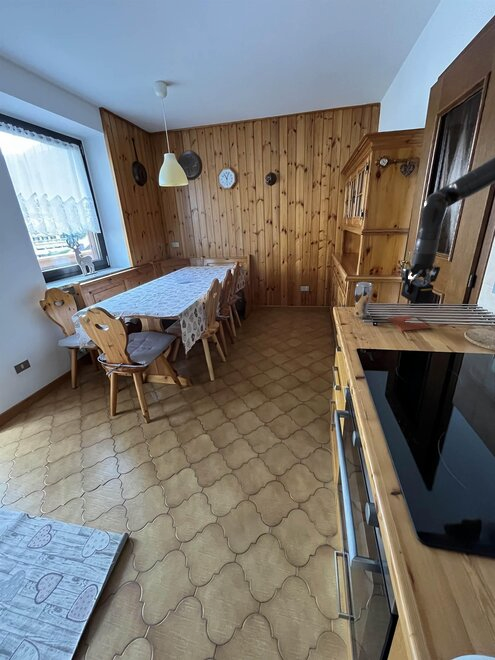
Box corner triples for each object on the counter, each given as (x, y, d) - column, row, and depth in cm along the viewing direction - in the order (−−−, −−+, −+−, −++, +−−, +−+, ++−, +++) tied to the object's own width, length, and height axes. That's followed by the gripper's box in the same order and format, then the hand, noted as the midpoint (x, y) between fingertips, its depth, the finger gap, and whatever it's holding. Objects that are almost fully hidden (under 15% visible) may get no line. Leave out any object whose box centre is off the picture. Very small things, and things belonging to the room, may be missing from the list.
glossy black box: (400, 295, 120) (403, 279, 116) (414, 293, 120) (418, 277, 117) (415, 304, 110) (419, 287, 107) (430, 303, 110) (435, 286, 107)
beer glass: (365, 311, 134) (370, 281, 127) (370, 318, 127) (374, 286, 121) (350, 312, 134) (354, 281, 127) (354, 318, 128) (358, 287, 121)
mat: (414, 316, 126) (414, 315, 126) (431, 328, 116) (431, 327, 115) (387, 318, 126) (387, 317, 126) (402, 331, 115) (402, 330, 115)
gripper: (437, 247, 110) (427, 288, 118) (401, 250, 110) (393, 291, 117) (450, 251, 103) (439, 294, 111) (412, 254, 103) (403, 297, 111)
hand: (415, 292), depth 114 cm, fingers closed on glossy black box, 6 cm apart
